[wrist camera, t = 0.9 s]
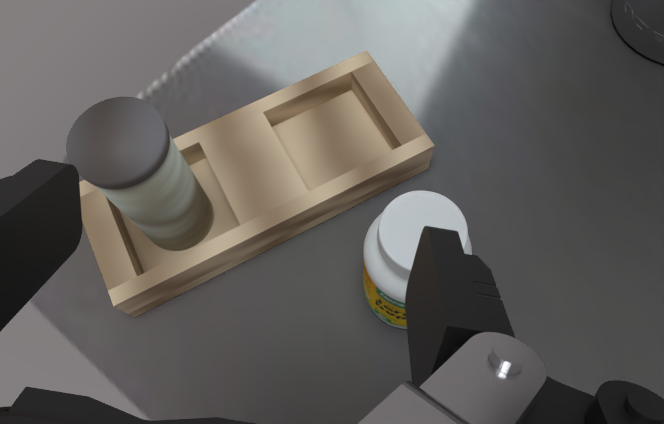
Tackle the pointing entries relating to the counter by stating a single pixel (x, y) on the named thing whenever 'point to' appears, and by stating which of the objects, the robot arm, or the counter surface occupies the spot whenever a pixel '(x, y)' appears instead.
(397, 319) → the supplement bottle
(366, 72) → the caddy
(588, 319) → the counter surface
